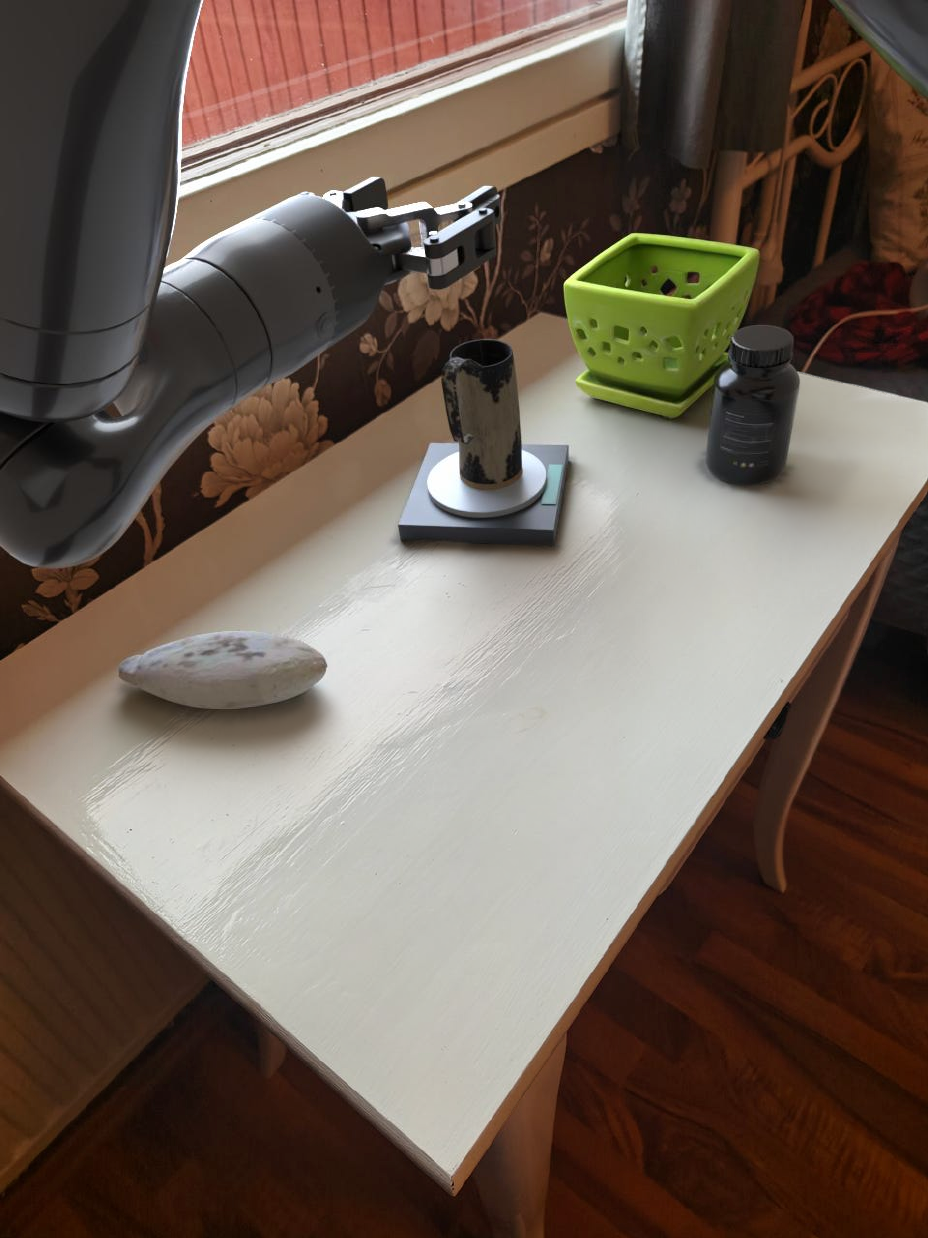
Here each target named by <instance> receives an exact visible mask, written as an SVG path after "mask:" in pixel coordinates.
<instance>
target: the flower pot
mask: <svg viewBox="0 0 928 1238" xmlns="http://www.w3.org/2000/svg"><path fill="white" fill-rule="evenodd" d="M760 257H761V256H760V251H759V249H757V248H753V247H749V246H744V245H738V244H733V243H727V242H720V241H713V240H712V241H711V240H705V239H697V238H689V237H683V236H682V237H681V236H673V235H664V234H654V233H653V234H652V233H639V232H635V233H634V232H633V233H630V234H628V235H627V236H625V237H623V238H622V239H620V240H619V241H617V242H615V243H614V244H612V245H611V246H610V247H609V248H607V249H605V250H604V251H603V252H600V254H598V255H597V256H595V257H594V258H593V259H592V260H590V261H589V262H587V263H586V264H585V265H584V266H582V267H581V268H579V269H578V270H577V271H575V273H573V274H571V275H570V277H568V278H567V279H566V280H565V281H564V283H563V297H564V305H565V311H566V318H567V322H568V326H569V330H570V333H571V337H572V340H573V342H574V345H575V347H576V350H577V352H578V354H579V357H580V358H581V360H582V362H583V363H584V365H585V367H586V368H587V369H586V370H585V371H583V372H582V373H581V374H580V375H578V376H577V378H576V379H575V385H576V386H577V387H578V389H580V390H581V391H582V392H583V393H585V394H586V395H588V396H590V397H591V398H594V399H596V400H602V401H605V402H608V403H613V404H616V405H620V406H624V407H628V408H632V409H635V410H640V411H643V412H647V413H650V414H655V415H660V416H663V418H664V419H666V420H673V419H675V418H677V417H679V416H680V415H682V414H683V413H684V412H686V410H688V408H690V407H691V406H692V405H693V404H694V403H695V402H696V401H697V400H698V399H699V398H700V397H701V396H702V395H703V394H705V392H707V390H709V389H710V388H711V387H713V381H714V376H715V374H716V372H717V371H718V369H719V368H720V367H721V366H722V365H723V364H724V363H726V362H727V361H728V352H726V350H727V349H728V347H730V339H731V336H732V334H734V332H736V331H737V330H739V327H740V325H741V323H742V320H743V318H744V315H745V314H746V311H747V308H748V305H749V302H750V299H751V295H752V292H753V289H754V285H755V282H756V277H757V272H758V268H759V263H760ZM653 267H656V268H657V272H653ZM689 273H697V274H698V275H699V280H698V282H697V283H696V282H695V283H694V282H691V283H689V282H688V274H689ZM625 280H626V282H625ZM643 280H645V285H643ZM668 280H669V281H671V282H672V283H673V284H674V285H675V288H676V289H675V291H674V292H673V294H672V295H671V296H669V295H665V294H664V293H663V292H662V290H661V289H662V286H663V285H664V284H665V282H667V281H668ZM687 296H689V297H690V298H685V297H687Z"/></svg>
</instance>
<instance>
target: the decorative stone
mask: <svg viewBox="0 0 928 1238" xmlns="http://www.w3.org/2000/svg"><path fill="white" fill-rule="evenodd" d="M327 668H328V663H327V661H326V658H325V657H324V655H323V654H322V653H321V652H320V651H318V649H315V648H314V647H313V646H310V645H309V644H307V643H306V642H304V641H302V640H301V639H296V638H293V637H289V636H285V635H281V634H274V633H269V632H262V631H253V630H224V631H215V632H207V633H203V634H197V635H192V636H187V637H184V638H182V639H181V638H180V639H178V640H176V641H175V640H174V641H171V642H168V643H165V644H162V645H159V646H156V647H154V648H151V649H149V650H147V651H145V652H144V653H143V654H135V655H133V656H130V657H128V658H126V659H124V660H122V662H120V664H119V665H118V669H117V671H118V677H119V679H121V680H122V681H123V682H126V683H127V684H130V685H132V686H137V687H138V688H139V689H140V690H142V691H144V692H146V693H149V694H150V695H153V696H156V697H157V698H160V699H164V700H166V701H169V702H171V703H174V704H178V705H182V706H185V707H191V708H198V709H207V710H237V709H238V710H239V709H244V708H245V709H246V708H255V707H260V706H261V707H262V706H265V705H270V704H276V703H281V702H284V701H287V700H290V699H292V698H295V697H297V696H299V695H301V694H303V693H305V692H307V691H309V690H310V689H311V688H313V687H314V686H315V685H316V684H317V683H319V682H320V681H321V679H323V678H324V676H325V674H326V672H327Z"/></svg>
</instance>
